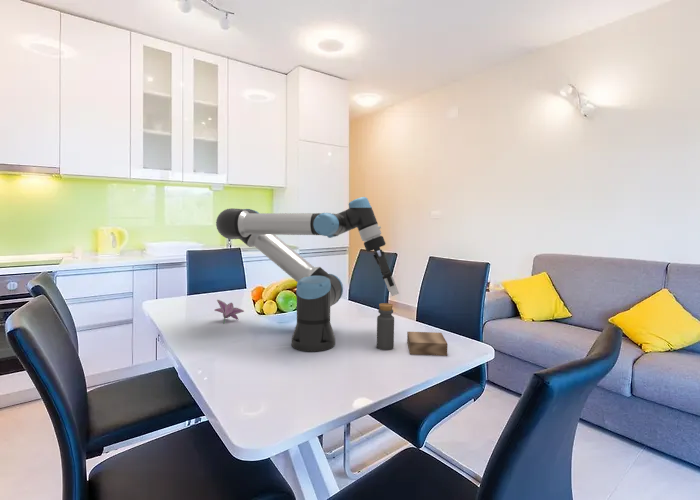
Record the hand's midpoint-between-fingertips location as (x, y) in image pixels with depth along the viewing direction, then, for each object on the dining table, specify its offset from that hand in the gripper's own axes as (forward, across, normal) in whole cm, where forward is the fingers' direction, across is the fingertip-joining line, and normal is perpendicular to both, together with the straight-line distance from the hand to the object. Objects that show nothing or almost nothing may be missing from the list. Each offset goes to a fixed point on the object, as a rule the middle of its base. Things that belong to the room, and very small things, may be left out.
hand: (393, 292), depth 136 cm
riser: (+21, -8, -3) cm, 22 cm away
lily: (-11, +20, +69) cm, 73 cm away
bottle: (+16, -7, +10) cm, 20 cm away
